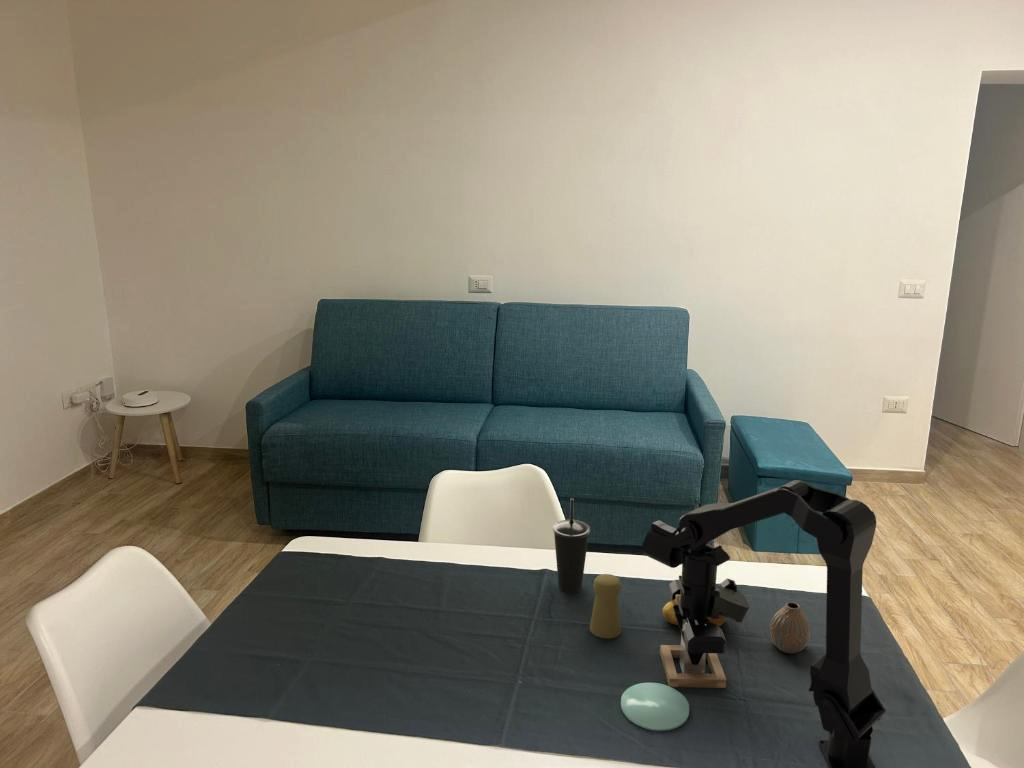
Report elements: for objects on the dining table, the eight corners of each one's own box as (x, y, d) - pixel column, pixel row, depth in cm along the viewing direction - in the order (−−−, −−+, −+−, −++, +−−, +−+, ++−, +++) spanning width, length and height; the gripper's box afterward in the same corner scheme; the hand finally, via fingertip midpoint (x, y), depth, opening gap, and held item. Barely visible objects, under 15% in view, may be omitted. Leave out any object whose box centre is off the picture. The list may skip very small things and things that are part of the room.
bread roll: (664, 633, 150) (666, 595, 148) (658, 604, 160) (660, 569, 157) (733, 635, 150) (736, 597, 147) (722, 606, 159) (726, 571, 157)
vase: (810, 660, 142) (816, 617, 140) (770, 656, 143) (775, 613, 141) (805, 638, 149) (810, 597, 146) (766, 634, 150) (770, 593, 147)
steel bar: (704, 676, 138) (707, 631, 135) (683, 676, 138) (686, 630, 135) (699, 663, 141) (703, 619, 139) (679, 663, 141) (682, 618, 139)
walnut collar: (725, 687, 135) (726, 679, 134) (668, 686, 135) (669, 678, 135) (713, 653, 144) (713, 645, 144) (659, 652, 144) (660, 645, 144)
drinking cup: (545, 582, 168) (546, 495, 162) (577, 574, 171) (579, 488, 165) (562, 600, 161) (564, 510, 155) (595, 592, 164) (598, 503, 158)
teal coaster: (695, 731, 125) (695, 728, 125) (624, 730, 125) (625, 727, 125) (682, 685, 135) (682, 682, 135) (617, 685, 136) (617, 682, 135)
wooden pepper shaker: (584, 633, 150) (586, 581, 147) (596, 617, 155) (598, 566, 152) (614, 641, 147) (617, 589, 144) (626, 625, 153) (628, 574, 150)
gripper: (762, 608, 125) (753, 692, 130) (733, 551, 143) (726, 627, 148) (691, 607, 126) (685, 691, 130) (670, 550, 144) (666, 626, 148)
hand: (692, 657), depth 139 cm, fingers closed on steel bar, 4 cm apart
